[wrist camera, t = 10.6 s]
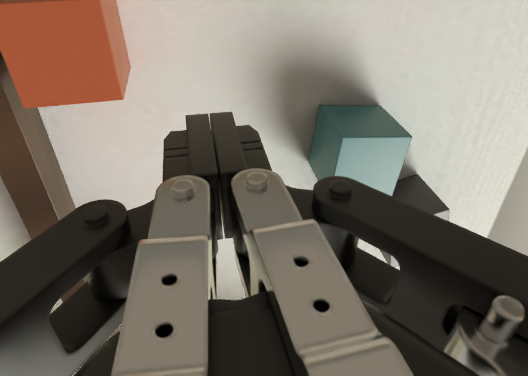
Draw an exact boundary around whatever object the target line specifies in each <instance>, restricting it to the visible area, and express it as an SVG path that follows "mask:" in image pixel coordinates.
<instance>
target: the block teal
mask: <svg viewBox="0 0 528 376" xmlns="http://www.w3.org/2000/svg"><path fill="white" fill-rule="evenodd" d="M411 139H412V136H411V135H410V134H409V133H408V132H407V131H406V130H405V129H404V128H403V127H402V126H401V125H400V124H399V123H398V122H397V121H396V120H395V119H394V118H393V117H392V116H391V115H390V114H389V113H388V112H387V111H386V110H384V109H383V108H382V107H381V106H338V105H319V109H318V114H317V120H316V125H315V131H314V136H313V141H312V147H311V152H310V158H309V164H310V166H311V168H312V170H313V172H314V174H315V175H316V177H317V179H318V181H319V180H321V179H323V178H325V177H330V176H343V177H348V178H351V179H354V180H356V181H358V182H361V183H363V184H365V185H367V186H370V187H372V188H374V189H377V190H379V191H381V192H383V193H386V194H388V195H390V196H392V194H393V192H394V189H395V186H396V183H397V180H398V177H399V174H400V171H401V168H402V165H403V163H404V160H405V157H406V154H407V151H408V148H409V145H410V142H411Z"/></svg>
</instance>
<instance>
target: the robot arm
mask: <svg viewBox="0 0 528 376" xmlns="http://www.w3.org/2000/svg"><path fill="white" fill-rule="evenodd" d="M210 125H211V129H210ZM186 128H187V130H184V131H172V132H170V133H169V134H168V136H167V137H166V138H165V139H164V155H163V157H164V159H163V183H162V184H160V186H159V187H158V188H157V190H156V194H155V199H154V200H152V201H151V202H149V203H147V204H145V205H143V206H140V207H137V208H134V209H131V210H128V211H127V210H126V208H125V206H124V205H123V204H121V203H120V202H117V201H114V200H97V201H92V202H89V203H86V204H84V205H82V206H80V207H78V208H76V209H75V210H74V211H72V212H71V213H69V214H68V215H66V216H65V217H64V218H62V219H61V220H59V221H58V222H57V223H55V224H54V225H52V226H51V227H49V228H48V229H47V230H45V231H44V232H42V233H41V234H39V235H38V236H37V237H35V238H34V239H32V240H31V241H30V242H28V243H27V244H25V245H24V246H22V247H21V248H20V249H18V250H17V251H15V252H14V253H13V254H11V255H10V256H8V257H7V258H5V259H4V260H3V261H1V262H0V376H72V375H73V374H74V373H75V372H76V371H77V370H78V369H79V368H80V367H81V366H82V365H83V363H84V362H85V361H86V360H87V359H88V358H89V357H90V356H91V355H92V354H93V353H94V352H95V353H94V354H93V355H92V356H91V357H90V358H89V359H88V360H87V361H86V363H85V364H84V365H83V366H82V367H81V368H80V369H79V371H78V372H77V373H76V374H75V375H74V376H528V256H526V255H524V254H521V253H519V252H517V251H515V250H512V249H510V248H507V247H505V246H503V245H501V244H499V243H496V242H494V241H492V240H490V239H487V238H485V237H483V236H481V235H478V234H476V233H474V232H472V231H469V230H467V229H465V228H463V227H460V226H458V225H456V224H453V223H451V222H449V221H447V220H444V219H442V218H440V217H438V216H435V215H433V214H431V213H429V212H426V211H424V210H422V209H420V208H417V207H415V206H413V205H410V204H408V203H406V202H404V201H401V200H399V199H397V198H395V197H392V196H390V195H388V194H386V193H383V192H381V191H379V190H377V189H374V188H372V187H370V186H367V185H365V184H363V183H361V182H358V181H356V180H354V179H351V178H348V177H343V176H330V177H325V178H323V179H321V180H319V181H318V182H317V183H316V184H315V185H314V189H313V190H304V189H296V188H292V187H289V186H286V185H285V184H284V182H283V180H282V179H281V177H280V176H279V175H278V174H276V173H275V172H273V171H272V169H271V167H270V164H269V161H268V158H267V156H266V153H265V150H264V147H263V145H262V142H261V139H260V136H259V134H258V132H257V131H256V130H255V129H253V128H252V127H251V126H250V125H243V126H236V125H235V121H234V118H233V114H232V112H222V113H210V123H209V117H208V114H197V115H186ZM221 215H222V220H221ZM222 221H223V227H224V234H225V239H226V238H233V240H234V249H235V260H236V264H237V267H238V271H239V274H240V278H241V282H242V285H243V289H244V292H245V296H246V298H245V299H242V300H221V299H218V290H217V258H216V255H217V252H218V243H217V240H219V239H223V233H222ZM359 239H361V240H363V241H365V242H367V243H369V244H371V245H373V246H375V247H376V248H378V249H380V250H382V251H384V252H386V253H388V254H390V255H391V256H392V257H394V258H395V259H396V261H397V262H398V264H399V266H400V270H398V269H396V268H394V267H393V266H391V265H389V264H387V263H385V262H383V261H381V260H380V259H378V258H376V257H374V256H372V255H370V254H369V253H367V252H365V251H363V250H361V249H359V248H358V247H357V245H358V240H359ZM85 276H86V278H87V282H86V283H85V284H84V285H83V286H82V287H80V288H79V289H78V290H77V291H76V292H75V293H74V294H73V295H71V296H70V297H69V298H68V299H67V300H66V301H65V302H64V303H62V304H61V305H60V306H59V307H58V308H57V309H56V310H55V311H53V312H52V313H51V314H50V312H51V309H52V308H53V306H54V304H55V303H56V302H57V301H58V300H59V299H60V298H61V297H62V296H63V295H64V294H66V293H67V292H68V291H69V290H70V289H71V288H72V287H74V286H75V285H76V284H77V283H78V282H79V281H80V280H82V279H83V278H84V277H85ZM121 323H122V325H121V330H120V332H118V333H116V334H115V335H114V336H113V337H111V338H110V339H109V340H107V341H106V342H105V343H104V344H103V345H102V346H101V347H99V346H100V345H101V344H102V343H103V342H104V341H105V340H106V339H107V338H108V337H109V336H110V334H111V333H112V332H113V331H114V330H115V329H116V328H117V327H118V326H119V325H120V324H121ZM98 347H99V348H98ZM97 348H98V349H97ZM96 349H97V350H96Z"/></svg>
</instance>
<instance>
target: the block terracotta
mask: <svg viewBox="0 0 528 376" xmlns="http://www.w3.org/2000/svg"><path fill="white" fill-rule="evenodd" d="M0 51H1V53H2V56H3V58H4V61H5V63H6V66H7V68H8V71H9V73H10V76H11V78H12V80H13V83H14V85H15V88H16V90H17V93H18V95H19V98H20V100H21V103H22V105H23V108H35V107H46V106H57V105H69V104H80V103H91V102H102V101H113V100H123V99H124V94H125V90H126V85H127V81H128V76H129V72H130V63H129V58H128V54H127V49H126V45H125V40H124V36H123V31H122V26H121V22H120V17H119V13H118V8H117V3H116V0H0Z"/></svg>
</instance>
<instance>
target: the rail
mask: <svg viewBox="0 0 528 376" xmlns="http://www.w3.org/2000/svg"><path fill="white" fill-rule="evenodd" d="M0 175H1V177H2V179H3V181H4V184H5V186H6V188H7V190H8V192H9V194H10V196H11V198H12V200H13V202H14V204H15V206H16V208H17V210H18V212H19V214H20V216H21V218H22V220H23V222H24V224H25V226H26V228H27V230H28V232H29V234H30V236H31V238H32V239H34V238H35V237H37V236H38V235H39V234H41V233H42V232H44V231H45V230H47V229H48V228H49V227H51V226H52V225H54V224H55V223H57V222H58V221H59V220H61V219H62V218H64V217H65V216H66V215H68V214H69V213H71V212H72V211H74V210H75V209H76V208H75V206H74V203H73V200H72V198H71V195H70V193H69V190H68V187H67V185H66V182H65V179H64V177H63V174H62V171H61V169H60V166H59V163H58V161H57V158H56V156H55V153H54V150H53V148H52V145H51V142H50V140H49V137H48V134H47V132H46V129H45V127H44V124H43V121H42V119H41V116H40V113H39V111H38V108H37V107H35V108H23V105H22V103H21V100H20V98H19V95H18V93H17V90H16V88H15V85H14V83H13V80H12V78H11V76H10V73H9V71H8V68H7V66H6V63H5V61H4V58H3V56H2V53H1V51H0ZM86 282H87V278H86V276H85V277H84V278H83V279H82V280H80V281H79V282H78V283H77V284H76V285H75V286H74V287H72V288H71V289H70V290H69V291H68V292H67V293H66V294H64V295H63V296H62V297H61V299H62V301H63V303H64V302H65V301H66V300H67V299H68V298H69V297H70V296H71V295H73V294H74V293H75V292H76V291H77V290H78V289H79V288H80V287H82V286H83V285H84V284H85V283H86Z"/></svg>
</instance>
